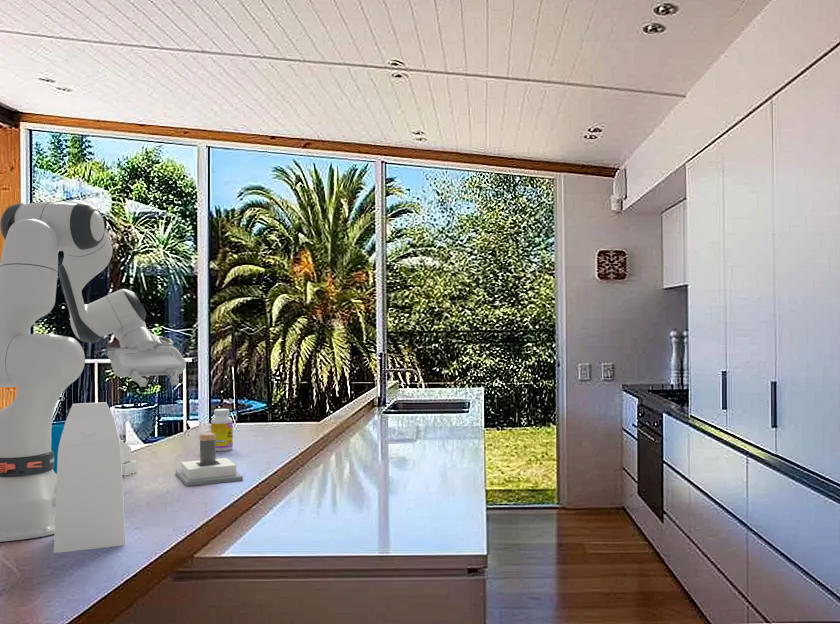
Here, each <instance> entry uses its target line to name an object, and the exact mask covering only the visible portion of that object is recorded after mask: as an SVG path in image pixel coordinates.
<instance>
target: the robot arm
mask: <svg viewBox="0 0 840 624" xmlns="http://www.w3.org/2000/svg"><path fill="white" fill-rule="evenodd" d="M105 225H106V224H105V220H104V216H103V214H102V213H101V211H100V210H99V209H98V207H96V206H94V205H93V204H90V203H86V202H84V201H81V200H76V199H75V200H74V199H73V200H67V201H63V202H60V201H59V202H58V201H56V202H54V201H37V202H31V203H25V202H21V203H17V204H12V205H10V206H8V207H7V208H6V210H5V211H4V212H3V213H2V214H1V219H0V233H1V235H2V237H3V239H4V243H3V247H2V250H1V251H2V252H1V257H0V388H17V389H16V395H15V397H14V400H13V402H12V403H11V404H9V405H7V406H5V407H3V408H2V409H0V542H11V541H20V540H27V539H35V538H41V537H46V536H50V535H54V534H55V510H56V485H57V472H56V471H54V468H55V455H54V451H53V450H52V431H53V430H52V427H53V418H54V415H53V414H54V412H55V411H54V410H55V408H56V405H57V403H58V401H59V399H60V397H61V395H62V394H63V393H64V391H65V390H66V389H67V388H68V387H69V386H70V385H71V384H73V383H74V382H76V381H77V379H78V378H79V377H80V376H81V374H82V372H83V370H84V368H85V364H86V355H85V351H84V348H83V346H82V345H81V343H80V342H79V341H81V342H84V343H88V344H95V343H96V342H99V341H100V340H102V339H103V338H104V337H106V336H108V335H111V334H113V335H114V338H116V340H118V342H119V347H110V349H108V350H107V351H106V356H107V357H108V359H109V361H110V365H111V368H112V371H113V374H114V375H115V376H116V377H118V378H129V377H130V379H131V380H132V381H134V382H136V383H137V384H138V385H139V387H140V388H142V387H143V388H144V387H147V385H148V381H147V378H146V377H148V376H150V377H152V376H169V377H171V378H170V379H169V382H170V384H171V386H177V385H178V384H179V381H180V379H179V378H178V375H182V373H183V372H184V371H185V369H186V366H187V362H186V360H185V358H184V356H183V355H182V354H181V352H180V350H178V348H177V347H175V346H174V341H173V340H172V339H171V338H167V337H164V336H160V335H157V334H154V333H152V332H151V331H150V330H149V329H148V328H147V325H146V324H147V323H146V322H145V321H146V318H147V312H146V310H145V307H144V306H143V305H142V303H141V301H140V298H139V297H138V294H136V293H135V292H134V291H132V290H129V289H127V288H121V289H118V290H116V291H114V292H112V293H109V294H107V295H105V296H103V297H101V298H99V299H98V298H97V300H94V301H92V302H90V303H88V304H85V301H84V298H83V294H82V291H83V289H84V288H85V286H86V285H87V284H88V283H89V282H90V281H91V280H93V279H94V278H95V277H96V276H97V275H99V274H100V273H101V272H103V271H104V270H105V269H106V268H107V266H108V265H109V264H110V261H111V259H112V256H113V252H114V251H113V246H112V243H111V239H110V237H109V234H108V232H107V230H106V229H105V228H106V226H105ZM59 252H63V260H62V263H61V264H60V265H59ZM58 279H59V282H60V285H61V291H62V294H63V296H64V300H65V304H66V307H67V310H68V315H69V322H70V326H71V327H70V328H71V329H72V332H73V334H74V335H75V337H76V338H77V339H78V340H79V341H78V340H77V339H75V338H74V337H71V336H65V335H60V334H55V333H35V334H34V333H31V334H30V333H29V331H30V329H31V328H32V327H33V325H34V324H35V323H36V321H38V320H40V318H43V317H46V316H48V314H50V313H51V311H52V310H53V309H54V306H55V304H56V298H57V297H56V295H57V286H58V285H57V284H58Z"/></svg>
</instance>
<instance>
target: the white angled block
mask: <svg viewBox="0 0 840 624" xmlns="http://www.w3.org/2000/svg"><path fill="white" fill-rule="evenodd" d="M120 446H121V464H122V475H127V474H130V475H132V474H131V473H133V474H135V473H134V472H136V473H138V460H132V447H131V446H130V445H128V444H127V443H125V442H124V441H122V440H121V439H120Z"/></svg>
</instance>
